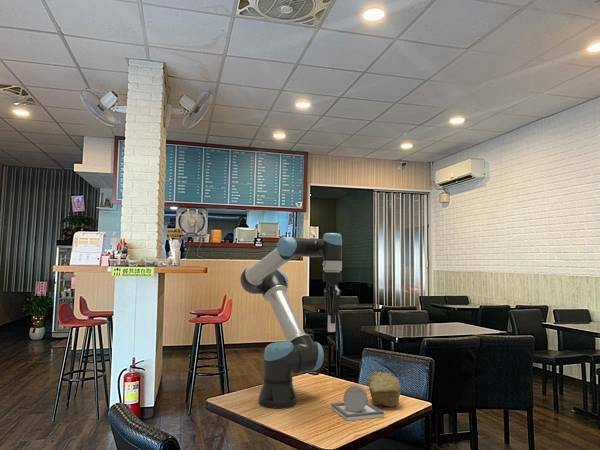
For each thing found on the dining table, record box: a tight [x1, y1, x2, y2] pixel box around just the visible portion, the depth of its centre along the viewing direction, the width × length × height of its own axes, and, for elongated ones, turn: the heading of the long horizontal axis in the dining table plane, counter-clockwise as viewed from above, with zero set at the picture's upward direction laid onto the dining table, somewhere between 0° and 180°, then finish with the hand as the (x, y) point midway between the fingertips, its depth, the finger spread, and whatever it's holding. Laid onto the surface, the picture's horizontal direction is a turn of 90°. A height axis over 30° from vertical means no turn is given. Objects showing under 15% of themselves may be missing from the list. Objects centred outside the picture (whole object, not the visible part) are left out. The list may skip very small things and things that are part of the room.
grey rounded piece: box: [343, 384, 369, 412], centre depth 168 cm, size 10×10×10 cm
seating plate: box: [330, 401, 385, 422], centre depth 168 cm, size 15×15×2 cm
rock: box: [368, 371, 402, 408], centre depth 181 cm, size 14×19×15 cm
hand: (331, 331), depth 175 cm, fingers closed
